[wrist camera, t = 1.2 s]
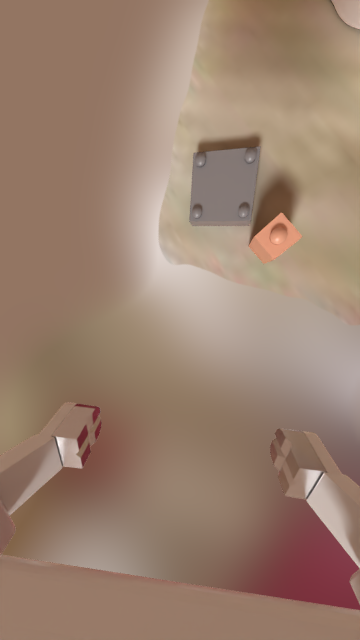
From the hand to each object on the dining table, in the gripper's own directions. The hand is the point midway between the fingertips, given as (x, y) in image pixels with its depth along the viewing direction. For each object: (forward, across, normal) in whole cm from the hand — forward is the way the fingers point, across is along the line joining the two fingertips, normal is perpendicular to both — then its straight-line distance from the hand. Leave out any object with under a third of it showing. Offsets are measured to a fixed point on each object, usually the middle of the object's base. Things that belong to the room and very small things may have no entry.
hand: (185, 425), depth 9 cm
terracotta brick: (+38, -14, -8) cm, 41 cm away
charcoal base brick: (+41, -4, -17) cm, 45 cm away
